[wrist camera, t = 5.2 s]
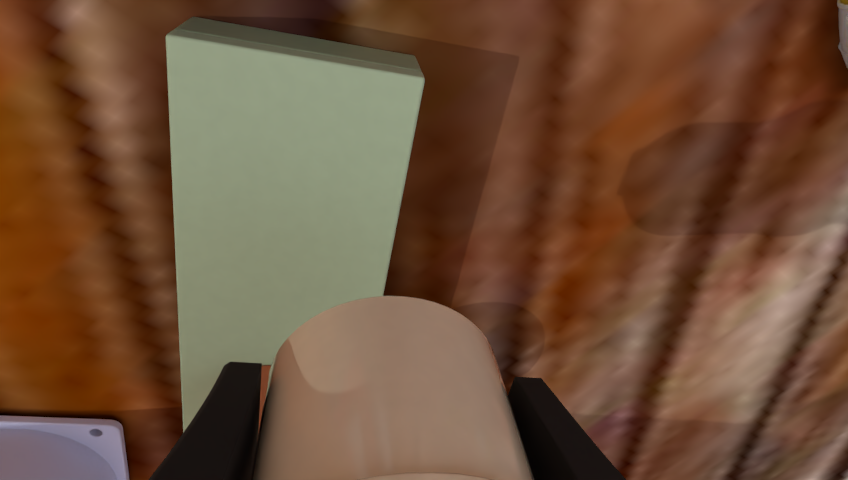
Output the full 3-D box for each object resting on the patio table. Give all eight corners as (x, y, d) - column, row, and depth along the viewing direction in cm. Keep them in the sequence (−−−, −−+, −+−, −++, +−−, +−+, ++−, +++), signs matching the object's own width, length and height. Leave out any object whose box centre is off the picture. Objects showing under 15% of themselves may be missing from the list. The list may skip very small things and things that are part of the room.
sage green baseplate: (199, 403, 25) (183, 455, 23) (191, 15, 16) (164, 33, 14) (351, 410, 26) (351, 460, 24) (415, 55, 18) (425, 78, 15)
